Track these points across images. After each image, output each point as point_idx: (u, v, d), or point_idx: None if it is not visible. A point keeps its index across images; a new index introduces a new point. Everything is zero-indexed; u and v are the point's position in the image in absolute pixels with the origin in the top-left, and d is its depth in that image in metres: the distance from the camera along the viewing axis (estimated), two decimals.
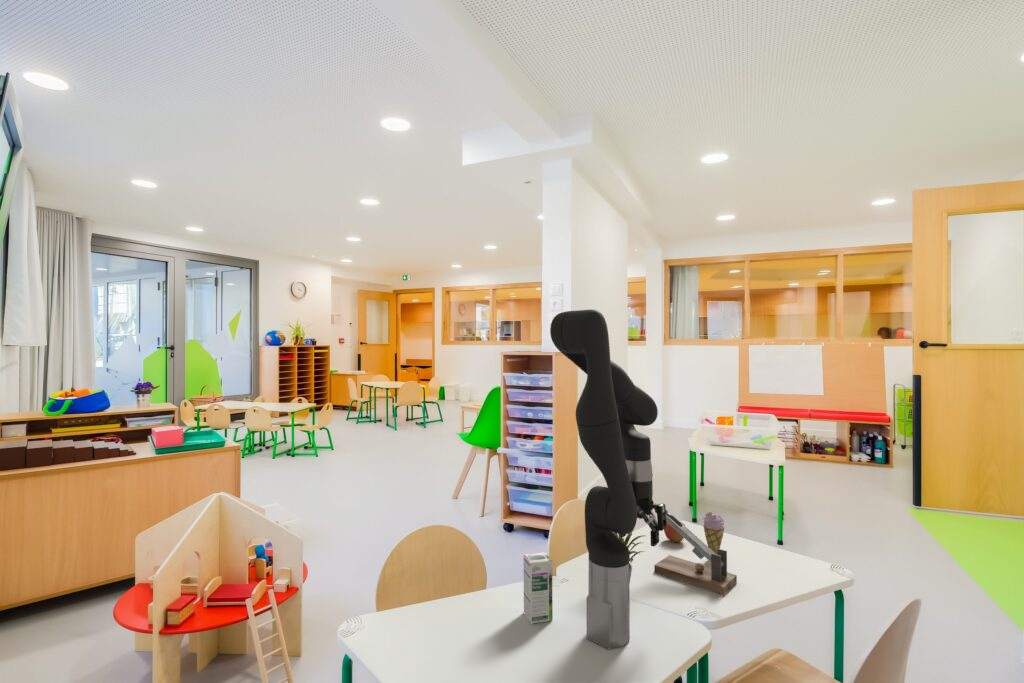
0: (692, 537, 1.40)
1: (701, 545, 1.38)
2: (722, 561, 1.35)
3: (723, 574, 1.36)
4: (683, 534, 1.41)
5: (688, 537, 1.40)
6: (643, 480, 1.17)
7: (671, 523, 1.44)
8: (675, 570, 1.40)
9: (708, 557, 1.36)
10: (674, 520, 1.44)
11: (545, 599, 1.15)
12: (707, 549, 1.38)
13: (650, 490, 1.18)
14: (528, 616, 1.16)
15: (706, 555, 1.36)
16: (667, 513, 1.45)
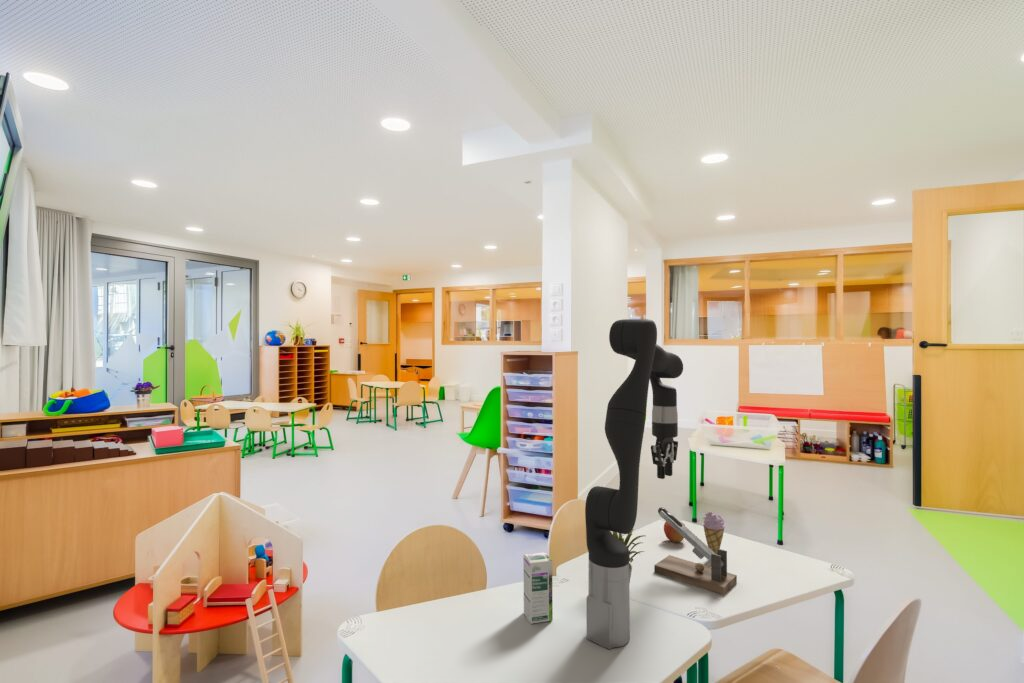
0: (692, 537, 1.40)
1: (701, 545, 1.38)
2: (722, 561, 1.35)
3: (723, 574, 1.36)
4: (683, 534, 1.41)
5: (688, 537, 1.40)
6: None
7: (671, 523, 1.44)
8: (675, 570, 1.40)
9: (708, 557, 1.36)
10: (674, 520, 1.44)
11: (545, 599, 1.15)
12: (707, 549, 1.38)
13: None
14: (528, 616, 1.16)
15: (706, 555, 1.36)
16: (667, 513, 1.45)
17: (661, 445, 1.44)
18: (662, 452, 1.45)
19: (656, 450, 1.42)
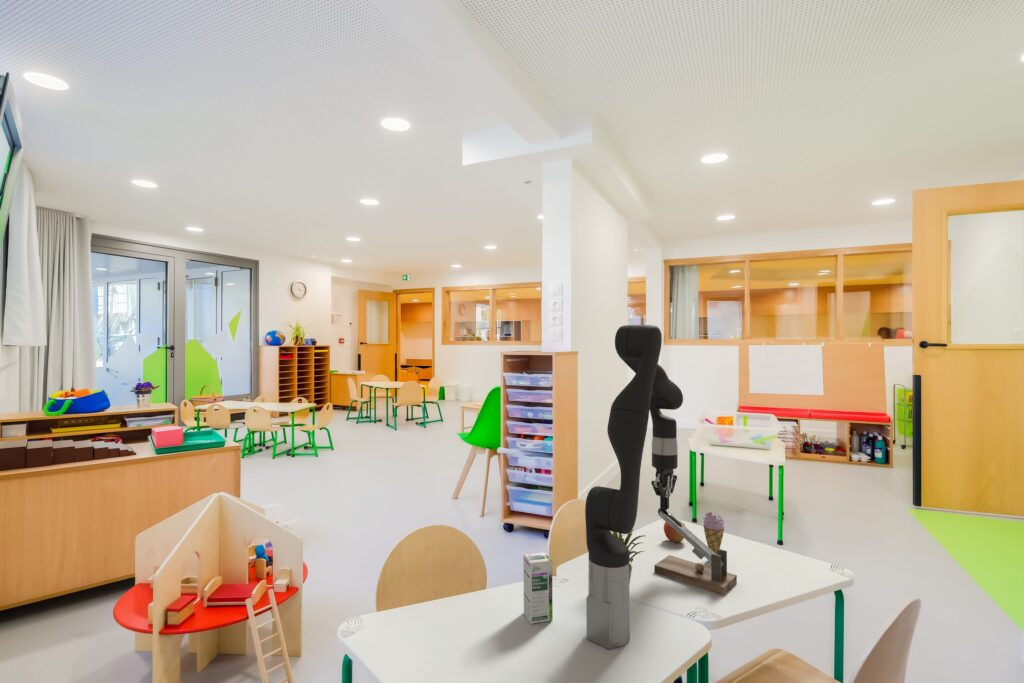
0: (692, 537, 1.40)
1: (701, 545, 1.38)
2: (722, 561, 1.35)
3: (723, 574, 1.36)
4: (683, 534, 1.41)
5: (688, 537, 1.40)
6: None
7: (671, 523, 1.44)
8: (675, 570, 1.40)
9: (708, 557, 1.36)
10: (674, 520, 1.44)
11: (545, 599, 1.15)
12: (707, 549, 1.38)
13: None
14: (528, 616, 1.16)
15: (706, 555, 1.36)
16: (667, 513, 1.45)
17: (661, 477, 1.43)
18: (662, 484, 1.45)
19: (657, 486, 1.42)
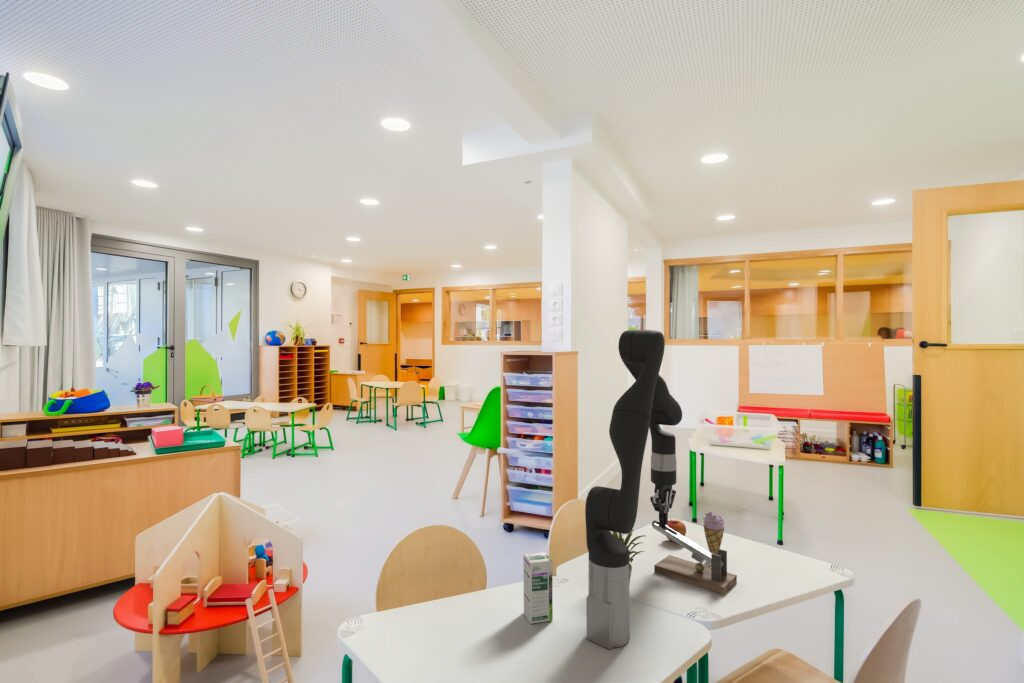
0: (688, 543, 1.41)
1: (698, 549, 1.39)
2: (721, 560, 1.35)
3: (723, 574, 1.36)
4: (679, 542, 1.42)
5: (684, 543, 1.41)
6: None
7: (666, 533, 1.44)
8: (675, 570, 1.40)
9: (707, 559, 1.36)
10: (668, 530, 1.45)
11: (545, 599, 1.15)
12: (705, 551, 1.38)
13: None
14: (528, 616, 1.16)
15: (705, 557, 1.36)
16: None
17: (660, 493, 1.44)
18: (661, 499, 1.45)
19: (656, 502, 1.43)
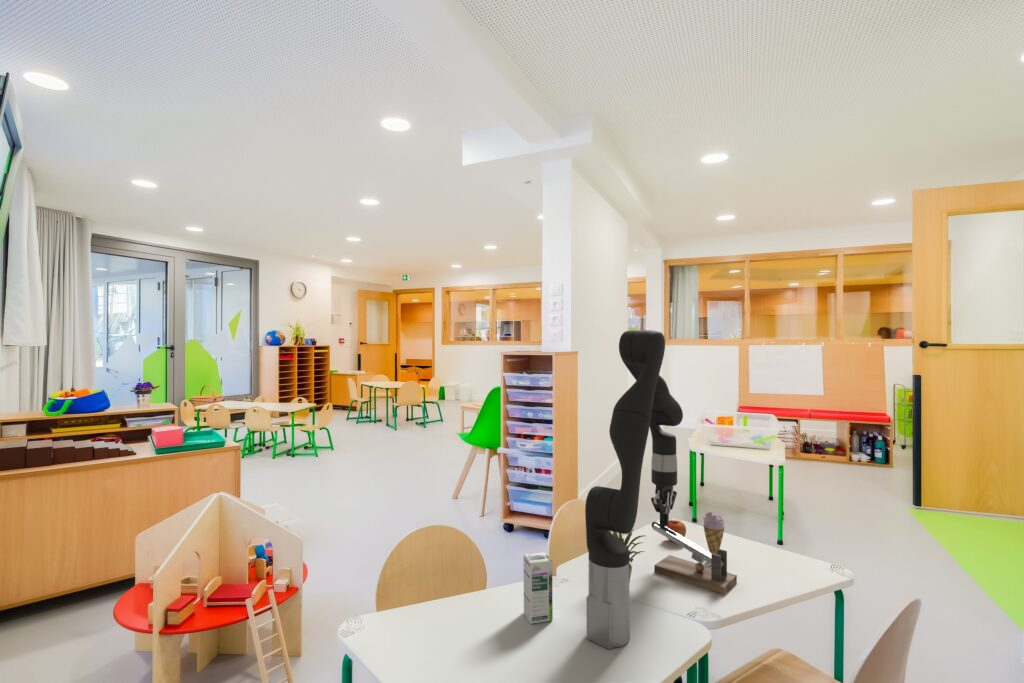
0: (688, 543, 1.41)
1: (698, 549, 1.39)
2: (721, 560, 1.35)
3: (723, 574, 1.36)
4: (679, 542, 1.42)
5: (684, 544, 1.41)
6: None
7: (666, 534, 1.45)
8: (675, 570, 1.40)
9: (707, 559, 1.36)
10: (668, 531, 1.45)
11: (545, 599, 1.15)
12: (705, 551, 1.38)
13: None
14: (528, 616, 1.16)
15: (705, 558, 1.36)
16: (660, 525, 1.47)
17: (660, 494, 1.43)
18: (661, 500, 1.45)
19: (657, 503, 1.42)
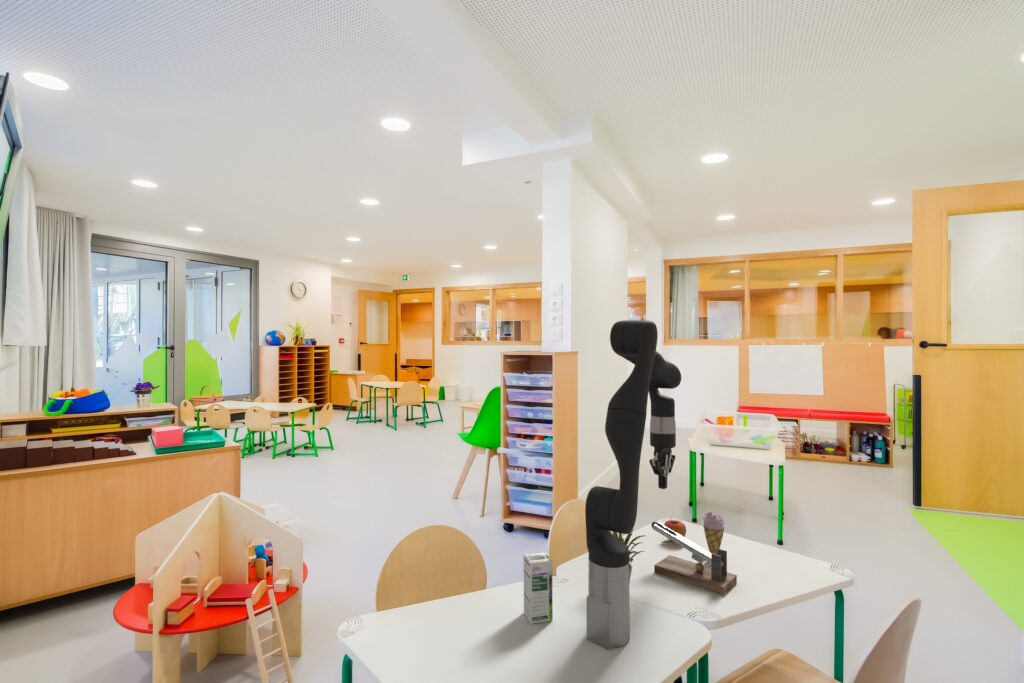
0: (688, 543, 1.41)
1: (698, 549, 1.39)
2: (721, 560, 1.35)
3: (723, 574, 1.36)
4: (679, 542, 1.42)
5: (684, 544, 1.41)
6: None
7: (666, 534, 1.45)
8: (675, 570, 1.40)
9: (707, 559, 1.36)
10: (668, 531, 1.45)
11: (545, 599, 1.15)
12: (705, 551, 1.38)
13: None
14: (528, 616, 1.16)
15: (705, 558, 1.36)
16: (660, 525, 1.47)
17: (659, 456, 1.44)
18: (660, 462, 1.45)
19: (655, 464, 1.42)
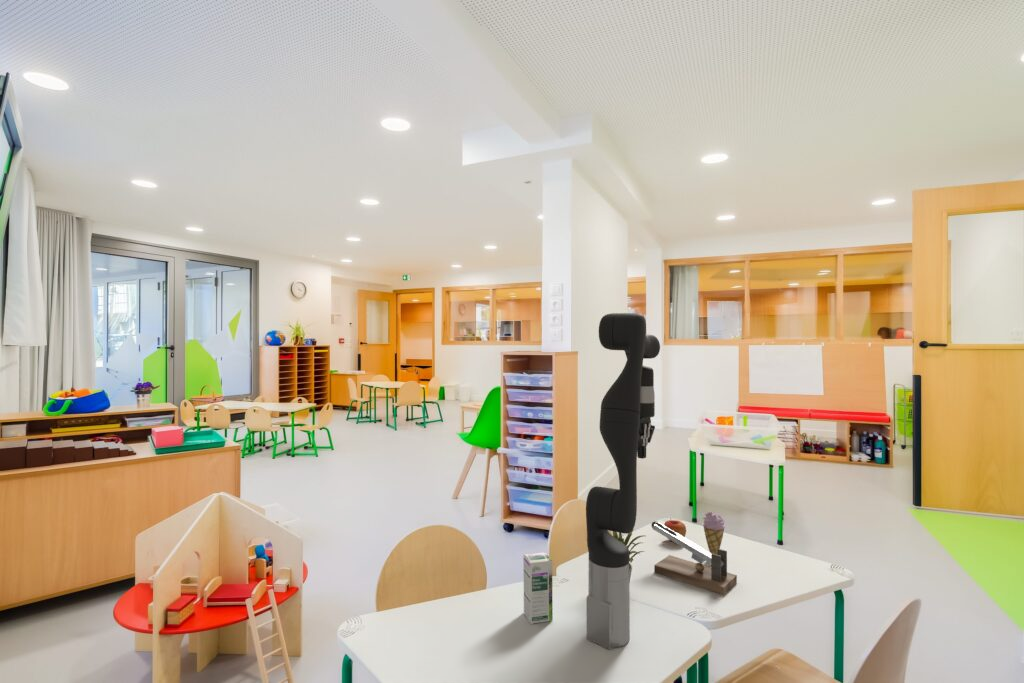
0: (688, 543, 1.41)
1: (698, 549, 1.39)
2: (721, 560, 1.35)
3: (723, 574, 1.36)
4: (679, 542, 1.42)
5: (684, 544, 1.41)
6: None
7: (666, 534, 1.45)
8: (675, 570, 1.40)
9: (707, 559, 1.36)
10: (668, 531, 1.45)
11: (545, 599, 1.15)
12: (705, 551, 1.38)
13: None
14: (528, 616, 1.16)
15: (705, 558, 1.36)
16: (660, 525, 1.47)
17: None
18: (639, 432, 1.45)
19: None
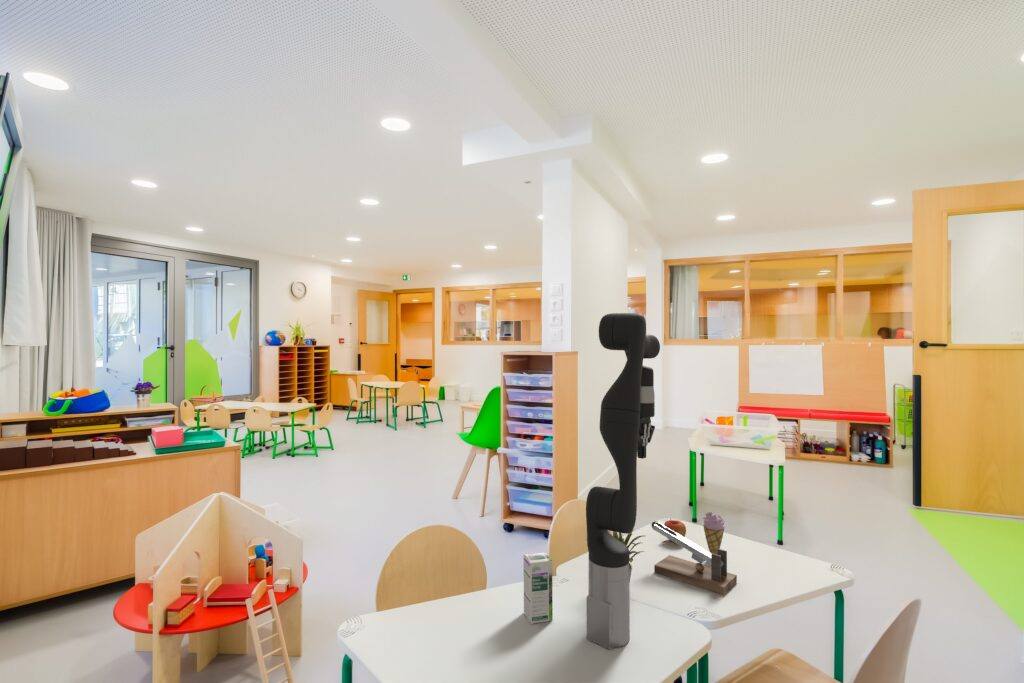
0: (688, 543, 1.41)
1: (698, 549, 1.39)
2: (721, 560, 1.35)
3: (723, 574, 1.36)
4: (679, 542, 1.42)
5: (684, 544, 1.41)
6: None
7: (666, 534, 1.45)
8: (675, 570, 1.40)
9: (707, 559, 1.36)
10: (668, 531, 1.45)
11: (545, 599, 1.15)
12: (705, 551, 1.38)
13: None
14: (528, 616, 1.16)
15: (705, 558, 1.36)
16: (660, 525, 1.47)
17: None
18: (639, 432, 1.45)
19: None
